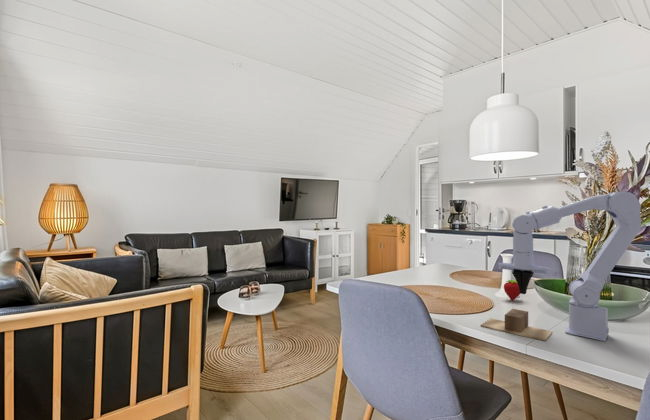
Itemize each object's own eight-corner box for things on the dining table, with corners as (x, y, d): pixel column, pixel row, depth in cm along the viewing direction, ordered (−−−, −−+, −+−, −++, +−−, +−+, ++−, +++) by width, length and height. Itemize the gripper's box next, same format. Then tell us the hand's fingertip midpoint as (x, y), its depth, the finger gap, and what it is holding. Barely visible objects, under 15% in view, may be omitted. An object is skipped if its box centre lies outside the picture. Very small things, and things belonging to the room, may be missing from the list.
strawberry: (526, 301, 137) (526, 277, 137) (510, 303, 136) (510, 278, 136) (515, 298, 143) (515, 274, 143) (499, 299, 142) (499, 275, 141)
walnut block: (528, 311, 110) (520, 318, 103) (528, 325, 110) (520, 332, 103) (512, 308, 113) (504, 314, 106) (512, 321, 113) (504, 329, 106)
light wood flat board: (552, 332, 104) (552, 331, 104) (545, 341, 97) (545, 340, 97) (490, 319, 117) (490, 318, 117) (480, 326, 110) (480, 325, 110)
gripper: (551, 252, 109) (551, 294, 109) (502, 248, 119) (502, 287, 119) (547, 254, 104) (547, 299, 104) (496, 251, 114) (496, 291, 114)
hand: (523, 293), depth 111 cm, fingers closed
